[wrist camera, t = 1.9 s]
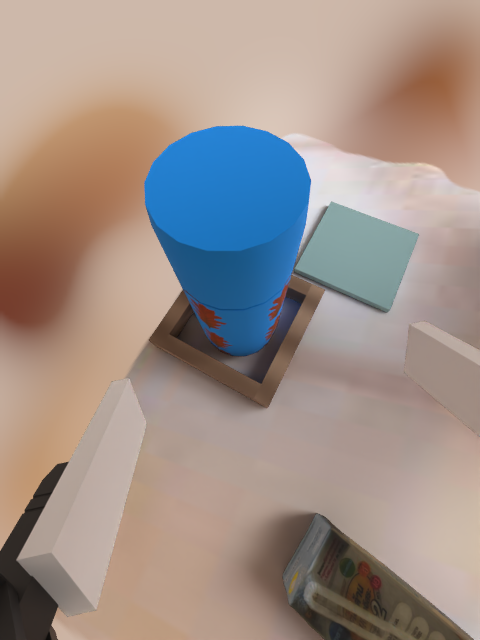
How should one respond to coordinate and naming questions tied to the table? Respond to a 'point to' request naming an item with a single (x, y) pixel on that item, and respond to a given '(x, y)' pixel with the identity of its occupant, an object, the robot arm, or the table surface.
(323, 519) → the beverage carton
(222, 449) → the table surface
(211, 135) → the thermos
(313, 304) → the dock
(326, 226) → the mat
